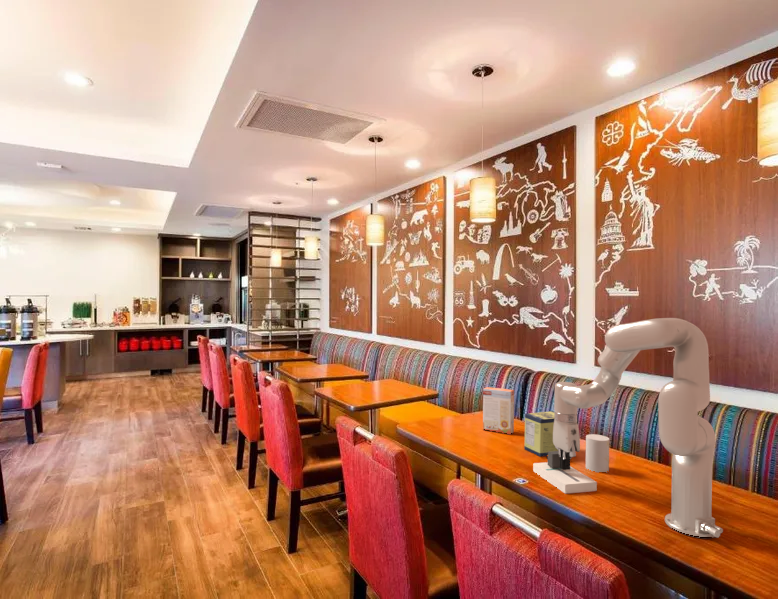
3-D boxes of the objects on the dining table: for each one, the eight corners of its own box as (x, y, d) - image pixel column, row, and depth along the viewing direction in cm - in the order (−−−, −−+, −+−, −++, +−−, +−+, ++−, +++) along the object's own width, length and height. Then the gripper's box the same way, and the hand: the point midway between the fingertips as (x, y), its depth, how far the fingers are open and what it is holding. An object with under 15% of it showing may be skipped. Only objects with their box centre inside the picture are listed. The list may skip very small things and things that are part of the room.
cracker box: (514, 432, 220) (514, 389, 220) (510, 435, 215) (511, 391, 215) (486, 427, 228) (487, 386, 228) (482, 430, 223) (483, 388, 223)
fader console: (596, 490, 152) (596, 481, 152) (565, 493, 150) (565, 484, 150) (561, 469, 172) (561, 460, 172) (533, 471, 169) (533, 462, 169)
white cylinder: (611, 473, 168) (611, 441, 168) (588, 471, 170) (588, 439, 170) (605, 465, 176) (606, 435, 176) (583, 464, 178) (583, 433, 178)
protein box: (569, 453, 191) (570, 416, 191) (540, 457, 185) (540, 419, 185) (552, 445, 201) (552, 410, 201) (523, 449, 195) (524, 413, 195)
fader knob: (564, 467, 164) (564, 453, 164) (552, 468, 163) (552, 454, 163) (559, 464, 167) (559, 450, 167) (547, 465, 166) (547, 451, 166)
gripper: (588, 422, 154) (587, 476, 154) (562, 411, 168) (561, 461, 168) (568, 423, 152) (568, 477, 152) (544, 412, 167) (543, 462, 167)
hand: (564, 468), depth 160 cm, fingers closed
